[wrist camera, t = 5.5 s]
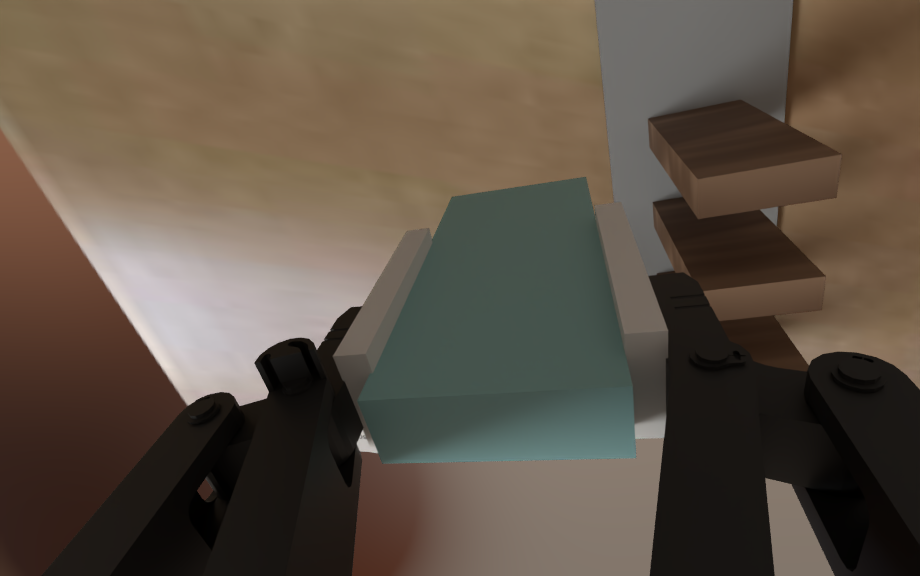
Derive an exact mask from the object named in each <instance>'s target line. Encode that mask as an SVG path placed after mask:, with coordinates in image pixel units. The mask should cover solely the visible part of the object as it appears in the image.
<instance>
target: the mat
mask: <svg viewBox="0 0 920 576" xmlns="http://www.w3.org/2000/svg"><path fill="white" fill-rule="evenodd" d="M595 8H596V19H597V29H598V40H599V50H600V61H601V71H602V81H603V92H604V102H605V113H606V123H607V133H608V144H609V154H610V165H611V175H612V185H613V196H614V203H616V202H621V203H622V206H623V209H624V211H625V214H626V217H627V220H628V222H629V225H630V228H631V230H632V233H633V236H634V239H635V241H636V244H637V247H638V250H639V252H640V255H641V258H642V261H643V263H644V266H645V269H646V272H647V274H648V276H651V275H657V273H663V272H670V271H674V268H673V266H672V264H671V262H670V260H669V258H668V256H667V253H666V251H665V249H664V247H663V245H662V243H661V241H660V239H659V236H658V234H657V232H656V230H655V228H654V219H653V202H656V201H662V200H668V199H674V198H680V197H683V196H682V195H681V193H680V192H679V190H678V189H677V187H676V186H675V184H674V183H673V181H672V180H671V178H670V177H669V176H668V174H667V173H666V171H665V170H664V168H663V167H662V165H661V164H660V162H659V161H658V159H657V158H656V156H655V155H654V153H653V152H652V151H651V149H650V148H649V131H648V119H649V118H653V117H658V116H663V115H668V114H673V113H678V112H683V111H687V110H692V109H697V108H702V107H707V106H712V105H717V104H721V103H726V102H731V101H736V100H743V101H745V102H746V103H748V104H750V105H752V106H754V107H756V108H757V109H759V110H761V111H763V112H765V113H767V114H769V115H770V116H772V117H774V118H776V119H778V120H780V121H781V122H783V123H784V120H785V106H786V92H787V79H788V65H789V51H790V37H791V24H792V10H793V0H595ZM761 211H762V212H763V213H764V214H765V215H766V216H767V217H768V218H769V219H770V220H771V221H772V222H773V223H774V224H775V225H776V226H777V216H778V207H773V208H767V209H761Z"/></svg>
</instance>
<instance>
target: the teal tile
mask: <svg viewBox="0 0 920 576" xmlns="http://www.w3.org/2000/svg"><path fill="white" fill-rule="evenodd" d="M432 242H433V243H432V245H431V247H430V249H429V251H428V254H427V256H426V258H425V260H424V262H423V265H422V267H421V269H420V271H419V273H418V275H417V278H416V280H415V282H414V284H413V286H412V289H411V291H410V293H409V295H408V297H407V300H406V302H405V304H404V306H403V308H402V310H401V313H400V315H399V317H398V319H397V321H396V324H395V326H394V328H393V330H392V332H391V334H390V337H389V339H388V341H387V343H386V345H385V348H384V350H383V352H382V354H381V356H380V359H379V361H378V363H377V365H376V367H375V369H374V372H373V373H370V374H369V376H368V379H367V381H366V383H365V385H364V387H363V389H362V391H361V394H360V396H359V398H358V400H357V402H358V405H359V407H360V410H361V412H362V415H363V417H364V419H365V422H366V424H367V427H368V429H369V432H370V434H371V437H372V439H373V442H374V444H375V447H376V449H377V452H378V454H379V456H380V459H381V461H382V463H428V462H429V463H430V462H475V461H476V462H477V461H523V460H566V459H567V460H568V459H616V458H636V445H635V424H634V402H633V385H632V381H631V376H630V372H629V367H628V363H627V358H626V356H625V351H624V347H623V342H622V337H621V333H620V328H619V324H618V319H617V315H616V310H615V306H614V301H613V297H612V292H611V288H610V283H609V279H608V274H607V270H606V265H605V261H604V256H603V252H602V247H601V243H600V238H599V234H598V229H597V225H596V220H595V215H594V211H593V206H592V202H591V197H590V193H589V188H588V184H587V179H586V177H582V178H575V179H568V180H562V181H555V182H548V183H542V184H535V185H528V186H522V187H515V188H508V189H502V190H495V191H488V192H482V193H475V194H468V195H462V196H455V197H452V198H451V200H450V202H449V205H448V207H447V209H446V211H445V213H444V215H443V217H442V220H441V222H440V224H439V226H438V228H437V230H436V232H435V235H434V237H433V239H432Z"/></svg>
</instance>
